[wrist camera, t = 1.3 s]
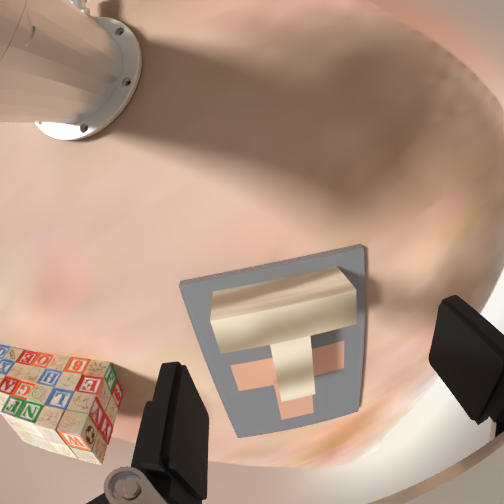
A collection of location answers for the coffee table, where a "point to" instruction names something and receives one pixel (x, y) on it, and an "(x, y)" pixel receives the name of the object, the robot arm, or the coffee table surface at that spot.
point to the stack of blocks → (59, 401)
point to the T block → (285, 321)
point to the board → (260, 358)
